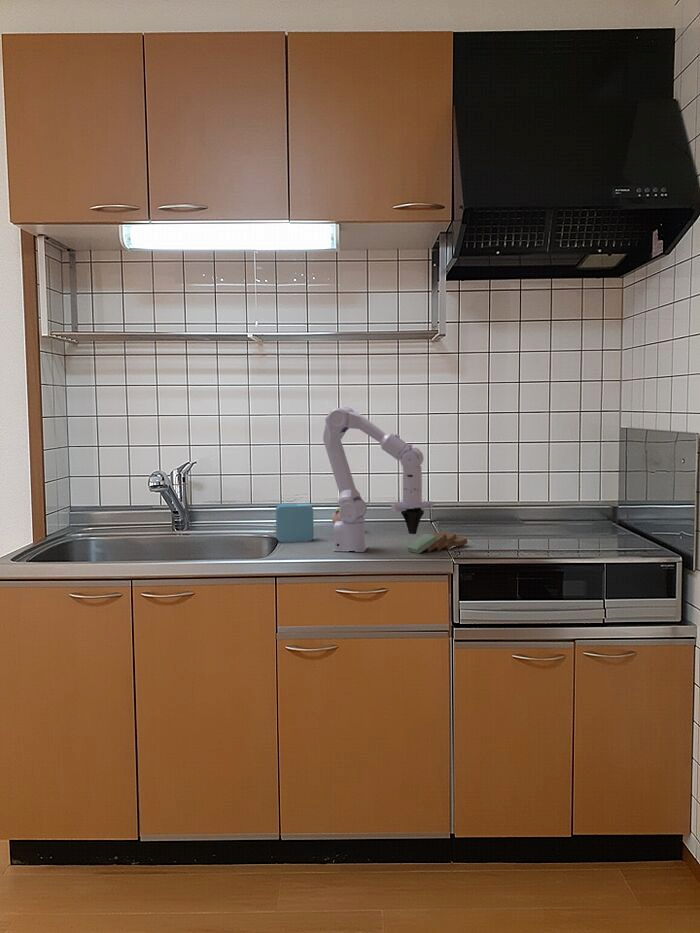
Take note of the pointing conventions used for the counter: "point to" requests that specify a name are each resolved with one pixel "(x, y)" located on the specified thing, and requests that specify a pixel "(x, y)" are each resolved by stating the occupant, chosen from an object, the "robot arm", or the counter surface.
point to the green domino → (422, 543)
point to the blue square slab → (294, 522)
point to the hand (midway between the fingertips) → (412, 533)
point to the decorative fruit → (336, 516)
